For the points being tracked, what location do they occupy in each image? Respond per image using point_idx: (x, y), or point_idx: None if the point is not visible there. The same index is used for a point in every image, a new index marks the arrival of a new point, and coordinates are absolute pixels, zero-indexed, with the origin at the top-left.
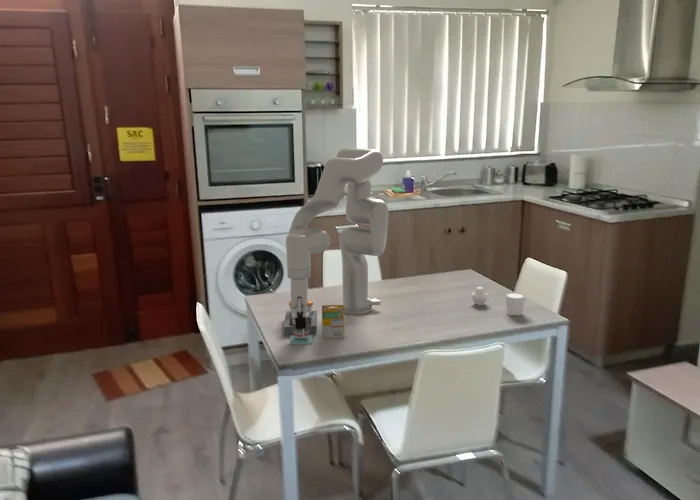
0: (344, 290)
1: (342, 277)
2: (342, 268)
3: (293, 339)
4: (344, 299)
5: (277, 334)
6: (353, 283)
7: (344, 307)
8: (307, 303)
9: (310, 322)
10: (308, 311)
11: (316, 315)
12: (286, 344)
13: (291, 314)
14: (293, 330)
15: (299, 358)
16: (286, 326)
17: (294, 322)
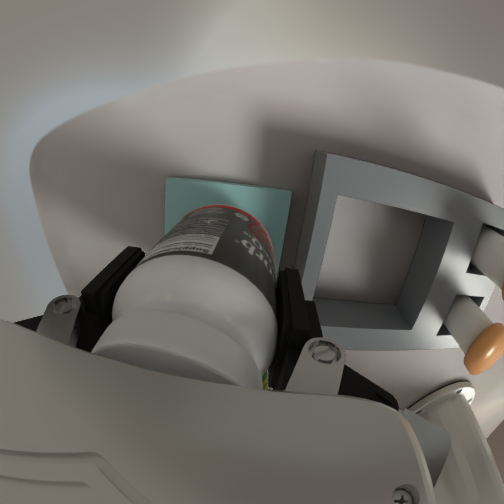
0: (460, 449)
1: (487, 470)
2: (493, 497)
3: (214, 199)
4: (451, 424)
5: (339, 115)
6: (434, 492)
7: (443, 404)
8: (478, 353)
9: (403, 308)
10: (456, 327)
11: (419, 349)
12: (178, 156)
13: (485, 236)
14: (185, 219)
15: (48, 217)
16: (331, 175)
17: (146, 255)
